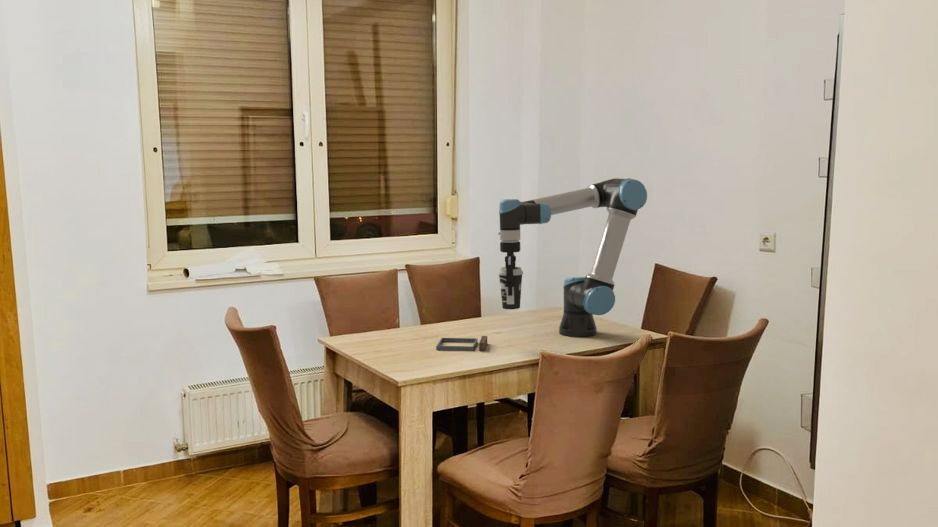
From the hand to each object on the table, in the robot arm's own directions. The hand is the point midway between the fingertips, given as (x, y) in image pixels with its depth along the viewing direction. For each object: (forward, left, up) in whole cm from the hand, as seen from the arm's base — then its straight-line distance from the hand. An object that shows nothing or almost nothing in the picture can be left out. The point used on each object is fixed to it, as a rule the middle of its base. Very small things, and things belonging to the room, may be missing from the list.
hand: (511, 302), depth 291 cm
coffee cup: (0, 0, -2) cm, 2 cm away
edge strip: (+10, +1, -17) cm, 20 cm away
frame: (+20, 0, -17) cm, 27 cm away
